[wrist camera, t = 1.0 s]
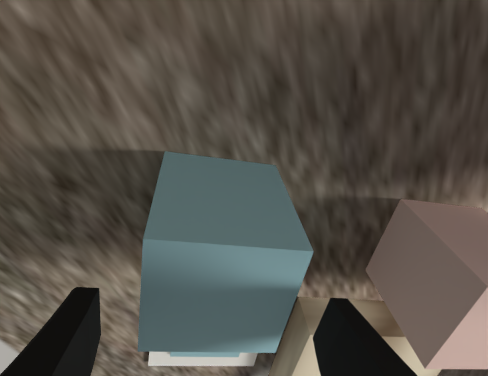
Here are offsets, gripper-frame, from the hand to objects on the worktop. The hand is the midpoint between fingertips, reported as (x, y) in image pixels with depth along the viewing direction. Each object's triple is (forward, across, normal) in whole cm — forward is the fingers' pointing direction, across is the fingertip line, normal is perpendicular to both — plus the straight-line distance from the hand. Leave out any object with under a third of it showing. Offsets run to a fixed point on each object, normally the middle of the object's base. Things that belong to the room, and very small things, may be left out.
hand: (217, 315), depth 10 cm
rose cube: (+6, -12, +1) cm, 14 cm away
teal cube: (+6, 0, 0) cm, 6 cm away
